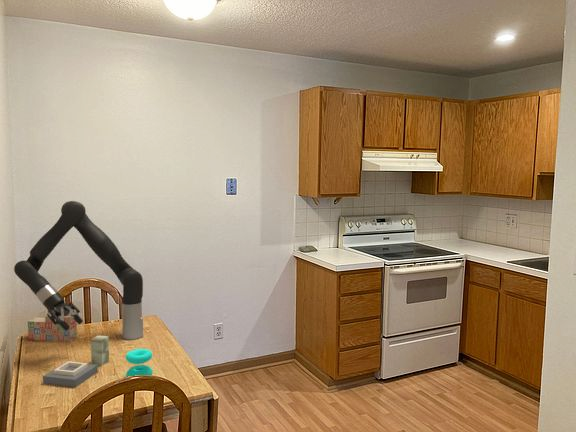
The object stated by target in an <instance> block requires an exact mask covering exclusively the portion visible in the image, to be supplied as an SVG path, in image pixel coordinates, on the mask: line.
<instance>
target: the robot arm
mask: <svg viewBox="0 0 576 432" xmlns="http://www.w3.org/2000/svg"><path fill="white" fill-rule="evenodd" d="M60 211H61V212H60V213H61V215H60V217H59V218H58V220H57V221H56V222H55V224H54V225H52V227H51V228H50V229H48V231H47V232H46V233H44V234H43V236H41V237H40V238H39V239H38V241H36V243H35V245H34V246H33V247H32V248H31V250H30V251H29V256H28V258H27V260H20V261H17V262H16V263H15V265H14V268H13V271H14V273H15V275H16V276H17V277H18V278H19V279H20V280H21V281H22V282H23V283H24V284H25V285H26V286H27V287H29V289H30V290H31V291H32V293H34V295H35V297H37V299H38V300H39V302H40V303H41V304H42V305H43V307H45V309H46V310H47V311H48V313H46V316H48V317H49V318H50V320H51V321H52V322H53V323H54V324H55V325H56V324H59V325H61V326H62V327H63V329H65V330H66V331H67V330H68V329H69V328H70V326H69V325H68V324H67V323H66V322H65V321H64V318H63V317H64V316H68V317H69V316H71V317H73V318H74V319H75V321H76V322H77V324H78V325H82V323H83V322H84V320H83V319H82V317H81V316H80V315H79V313H80V312H81V311H80V310H79V308H78V307H77V306H76V305H75V304H74V302H71V301H70V302H69V303H68V304H67V303H65V301H66V299H65V298H64V297H63V296H62V295H61V294H60V293H59V291H58V290H57V289H56V288H55V287H54V286H53V285H52V284H51V283H50V281H48V280H47V279H46V277H44V276H43V275H41V274H40V273H39V271H40V269H41V268H42V265H43V264H44V262H45V260H46V259H47V258H48V256H50V254H51V253H52V251H53V250H54V249H55V248H56V247H57V245H58V244H60V241H61V240H62V239H63V238H64V237H65V235H67V233H69V232H70V231H71V229H72V228H73V227H74V229H76V230H77V232H78V233H79V234H80V236H81V237H82V239H83V240H84V241H85V242H86V244H87V246H88V247H89V248H90V249H91V250H92V251H93V253H94V254H95V255H96V256H97V257H98V258H99V259H100V260H101V261H102V262H103V263H104V264H105V265H107V266H108V267H109V268H110V269H111V271H112V272H113V273H114V275H115V276H116V277H117V279H118V280H119V283H121V285H122V286H123V287H122V289H123V290H122V294H123V295H122V297H121V324H122V326H121V328H122V329H121V330H122V334H121V335H122V339H124V340H136V339H140V338H144V318H143V310H142V309H143V308H142V307H143V305H142V304H143V303H142V301H143V300H142V299H143V295H144V294H143V293H144V278H143V276H142V274H141V273H140V272H139V271H137V270H136V269H134V268H133V267H132V266H131V265H130V264H129V263H128V262H127V261H126V260H125V259H124V257H123V256H122V254H121V252H120V250H119V249H118V247H117V245H115V243H114V242H113V240H112V239H111V238H110V237H109V236H108V235H107V234H106V233H105V232H104V231H103V230H102V229H101V228H100V227H98V226H97V225H96V224H95V223H94V222H93V221H92V220H91V219H90V218H89V216H88V215H87V212H86V211H87V210H86V207H85V206H84V204H83V203H81V202H80V201H79V202H78V201H75V200H71V201H70V200H69V201H66V202H64V204H63V205H62V206H61V210H60ZM73 314H74V315H73ZM54 319H56V321H55V320H54Z"/></svg>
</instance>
